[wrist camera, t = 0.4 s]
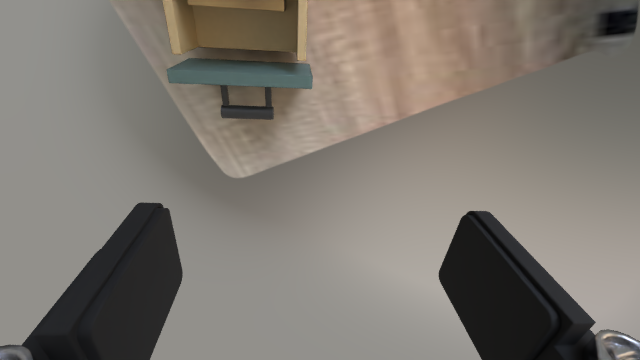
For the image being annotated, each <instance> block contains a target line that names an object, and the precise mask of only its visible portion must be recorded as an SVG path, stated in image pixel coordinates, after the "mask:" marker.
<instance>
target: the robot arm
mask: <svg viewBox="0 0 640 360" xmlns="http://www.w3.org/2000/svg"><path fill="white" fill-rule="evenodd" d="M439 280H440V282H441V284H442V286H443V288H444V290H445V292H446V294H447V295H448V297H449V299H450V301H451V303H452V305H453V307H454V308H455V310H456V312H457V314H458V316H459V317H460V320H461V322H462V323H463V325H464V327H465V329H466V331H467V333H468V335H469V337H470V338H471V340H472V342H473V344H474V346H475V347H476V350H477V351H478V353H479V355H480V357H481V359H482V360H640V341H638V340H636V339H634V338H633V337H631V336H629V335H626V334H624V333H621V332H618V331H614V330H601V331H599V333H597V334H596V335H594V334H593V333H592V331H591V330H590V328H591V327H592V326H593V325H594V324H595V321H594V320H593V319H592V318H591V317H590V316H589V315H588V314H587V313H586V312H585V311H584V310H583V309H582V308H581V307H580V306H579V305H578V303H576V301H574V299H573V298H572V297H571V296H570V295H569V294H568V293H567V292H566V291H565V290H564V289H563V288H562V287H561V286H560V285H559V284H558V283H557V282H556V281H555V280H554V279H553V277H552V276H551V275H549V273H548V272H547V271H546V270H545V269H544V268H543V267H542V266H541V265H540V264H539V263H538V262H537V261H536V260H535V259H534V258H533V257H532V256H531V255H530V254H529V253H528V252H527V250H526V249H525V248H524V247H523V246H522V245H521V244H520V243H519V242H518V241H517V240H516V239H515V238H514V237H513V236H512V235H511V234H510V233H509V232H508V231H507V230H506V229H505V228H504V227H503V225H502V224H501V223H500V222H499V221H498V220H497V219H496V218H495V217H494V216H493V215H492V214H491V213H490V212H487V211H469V212H468V213H467V214H466V215H464V216H463V217H462V218H461V220H460V223H459V225H458V227H457V230H456V232H455V235H454V237H453V239H452V242H451V244H450V247H449V249H448V251H447V254H446V256H445V258H444V261H443V263H442V266H441V268H440V270H439ZM181 281H182V267H181V262H180V258H179V254H178V248H177V244H176V239H175V235H174V230H173V225H172V220H171V216H170V211H169V209H168V208H163V205H162V204H160V203H138V204H137V205H136V206H135V207H134V209H133V210H132V211H131V212H130V213H129V215H128V216H127V217H126V219H125V220H124V221H123V222H122V224H121V225H120V226H119V227H118V229H117V230H116V231H115V232H114V234H113V235H112V236H111V237H110V239H109V240H108V241H107V242H106V244H105V245H104V246H103V247H102V249H100V250H99V251H98V252H97V253H96V254H95V255H94V256H93V257H92V258H91V260H90V261H89V262H88V263H87V265H86V266H85V267H84V268H83V270H82V271H81V272H80V273H79V275H78V276H77V277H76V278H75V280H74V281H73V282H72V284H70V286H69V287H68V288H67V290H66V291H65V292H64V293H63V295H62V296H61V297H60V298H59V299H58V301H57V302H56V303H55V304H54V306H53V307H52V308H51V309H50V311H49V312H48V313H47V315H46V316H45V317H44V318H43V319H42V320H41V322H40V323H39V324H38V325H37V327H36V328H35V329H34V330H33V332H32V333H31V334H30V335H29V337H28V338H27V339H26V340H25V342H24V343H23V344H22V345H5V346H0V360H150V358H151V355H152V353H153V350H154V348H155V345H156V343H157V340H158V338H159V335H160V333H161V331H162V328H163V326H164V323H165V321H166V318H167V316H168V314H169V311H170V308H171V306H172V304H173V301H174V299H175V296H176V294H177V291H178V289H179V287H180V284H181Z"/></svg>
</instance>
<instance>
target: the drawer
mask: <svg viewBox="0 0 640 360" xmlns="http://www.w3.org/2000/svg"><path fill="white" fill-rule="evenodd" d="M162 1H163V6H164V11H165V17H166V22H167V28H168V33H169V38H170V44H171V49H172V54H179V55H181V54H183V53H186V52H188V51H190V50H192V49H195V48H197V47H207V48H225V49H244V50H263V51H281V52H297V60H298V61H306V37H307V6H308V0H286V10H285V11H284V12H281V11H266V10H252V9H237V8H222V7H207V6H192V5H188V1H187V0H162ZM167 75H168V80H169V83H183V84H207V85H221V93H222V102H223V105H222V106H221V116H222V118H234V119H266V120H273V119H274V107H272V97H271V87H279V88H303V89H312V79H313V76H312V73H311V69H310V65H309V64H299V63H279V62H259V61H239V60H219V59H199V58H188V59H186V60H184V61H183V62H181V63H179V64H177V65H175V66H173V67H171V68H169V69H167ZM228 85H231V86H255V87H265V99H266V106H240V105H229V94H228Z"/></svg>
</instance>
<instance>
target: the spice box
mask: <svg viewBox="0 0 640 360" xmlns="http://www.w3.org/2000/svg"><path fill="white" fill-rule="evenodd" d="M187 1H188V5H192V6H207V7H222V8H237V9H252V10H266V11H281V12H284V11H285V10H286V0H187Z"/></svg>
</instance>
